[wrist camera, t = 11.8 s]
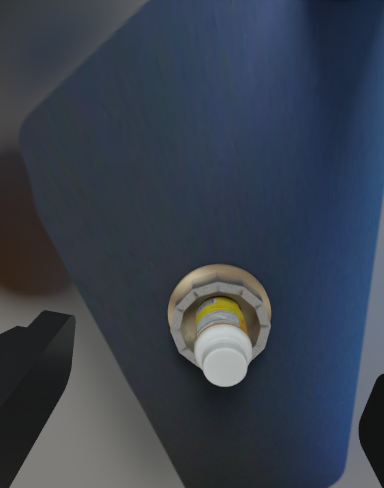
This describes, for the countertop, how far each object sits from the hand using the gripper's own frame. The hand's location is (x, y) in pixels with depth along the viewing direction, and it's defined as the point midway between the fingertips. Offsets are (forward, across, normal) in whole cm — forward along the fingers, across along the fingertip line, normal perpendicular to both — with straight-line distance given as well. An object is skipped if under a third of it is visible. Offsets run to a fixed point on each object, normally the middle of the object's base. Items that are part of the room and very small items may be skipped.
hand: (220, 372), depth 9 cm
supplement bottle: (+29, -4, +13) cm, 32 cm away
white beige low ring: (+29, -4, +13) cm, 32 cm away
